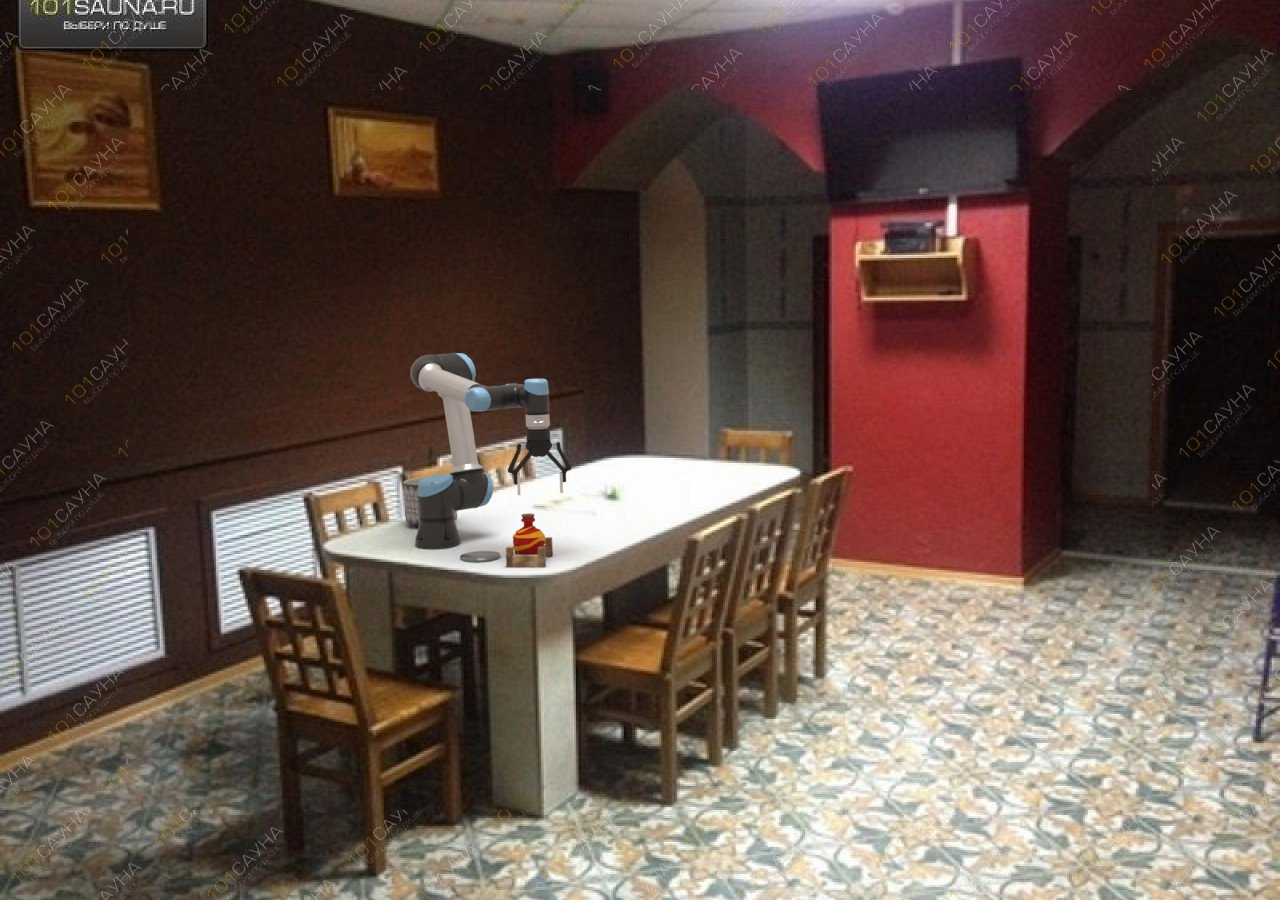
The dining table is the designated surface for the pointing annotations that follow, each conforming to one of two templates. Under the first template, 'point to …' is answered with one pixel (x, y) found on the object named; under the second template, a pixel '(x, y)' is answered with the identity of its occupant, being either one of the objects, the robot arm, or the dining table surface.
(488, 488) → the robot arm
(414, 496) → the planter
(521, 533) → the potion bottle
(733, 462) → the dining table surface
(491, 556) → the coaster
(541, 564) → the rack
